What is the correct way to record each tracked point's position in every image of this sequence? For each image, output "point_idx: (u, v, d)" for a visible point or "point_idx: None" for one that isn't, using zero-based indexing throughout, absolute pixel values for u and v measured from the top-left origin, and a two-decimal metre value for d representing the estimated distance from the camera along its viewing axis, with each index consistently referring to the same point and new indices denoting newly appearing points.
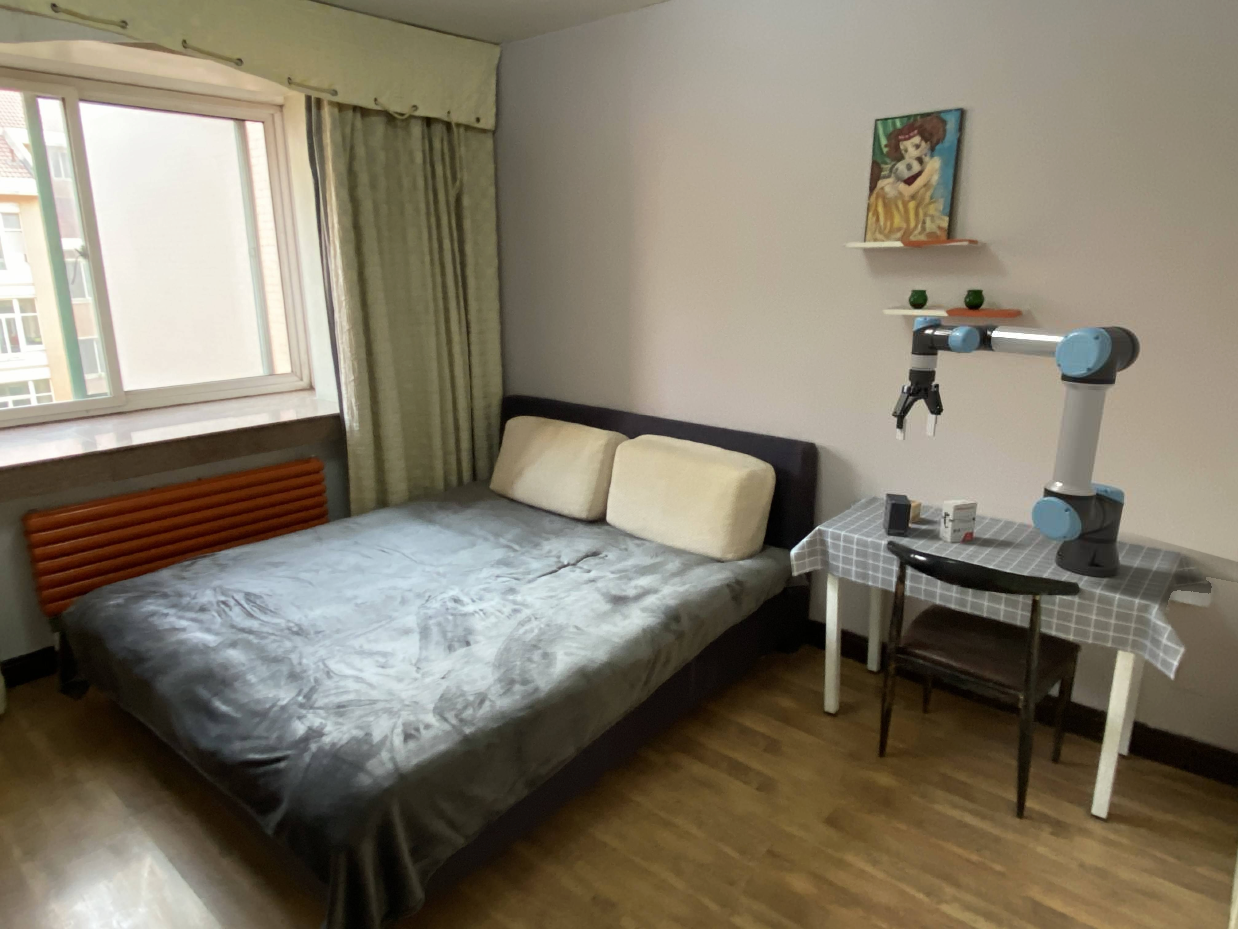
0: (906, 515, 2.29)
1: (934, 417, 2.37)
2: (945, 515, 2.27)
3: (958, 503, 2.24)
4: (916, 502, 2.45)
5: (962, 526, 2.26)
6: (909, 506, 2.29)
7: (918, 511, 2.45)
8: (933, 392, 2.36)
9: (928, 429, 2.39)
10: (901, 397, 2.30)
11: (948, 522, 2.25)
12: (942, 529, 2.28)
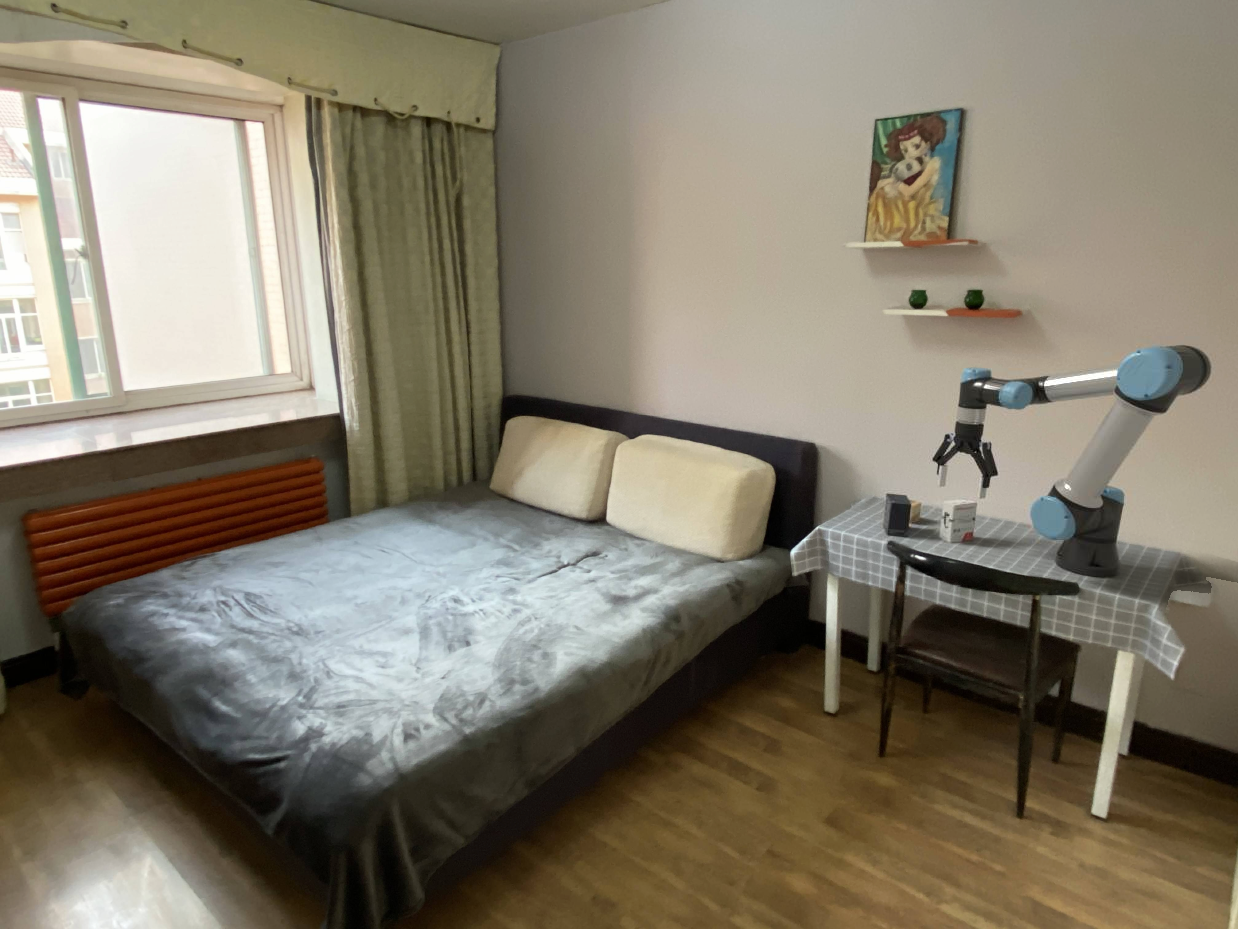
0: (906, 515, 2.29)
1: None
2: (945, 515, 2.27)
3: (958, 503, 2.24)
4: (916, 502, 2.45)
5: (962, 526, 2.26)
6: (909, 506, 2.29)
7: (918, 511, 2.45)
8: None
9: None
10: None
11: (948, 522, 2.25)
12: (942, 529, 2.28)
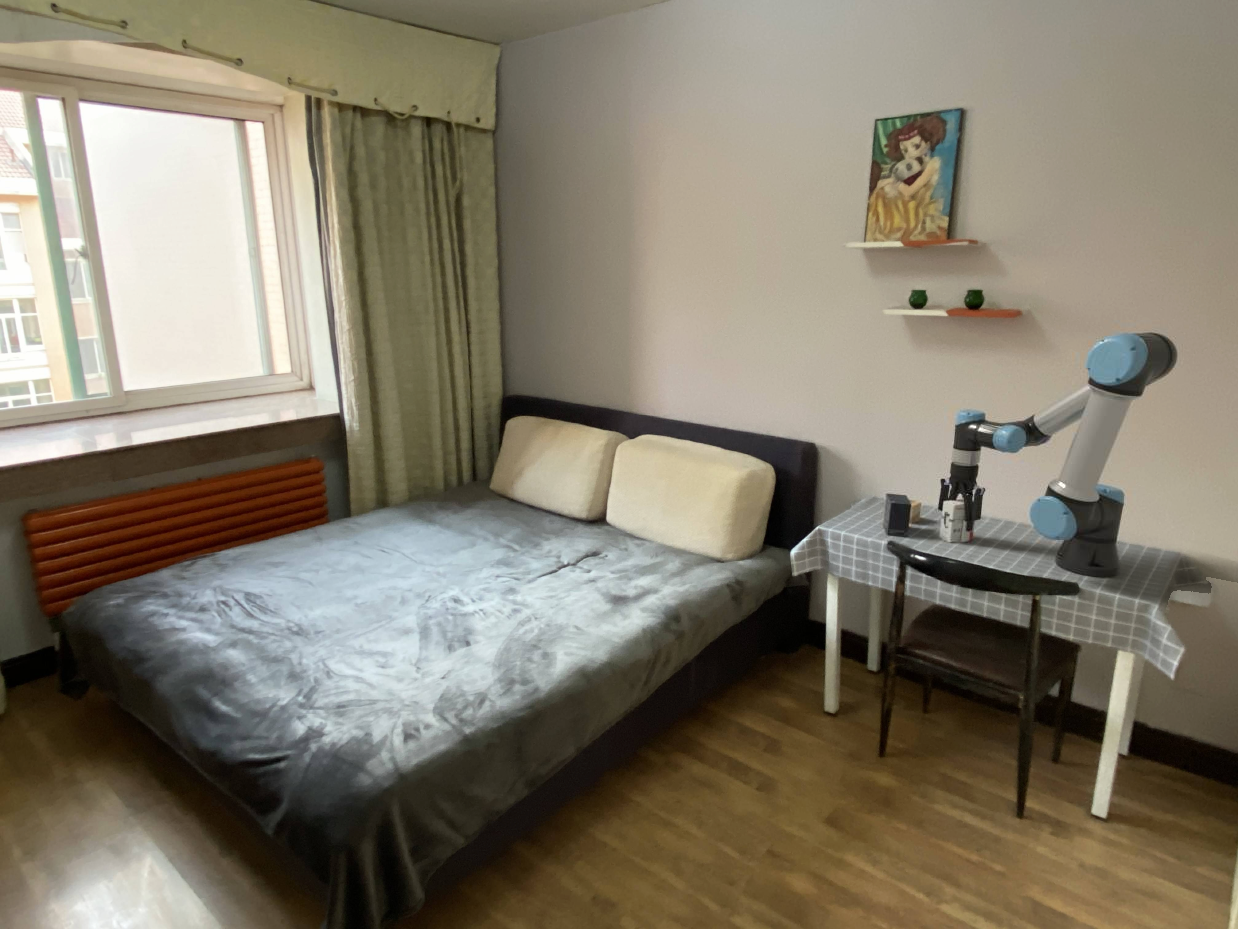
0: (906, 515, 2.29)
1: None
2: (945, 515, 2.27)
3: (958, 503, 2.24)
4: (916, 502, 2.45)
5: (962, 525, 2.26)
6: (909, 506, 2.29)
7: (918, 511, 2.45)
8: None
9: None
10: None
11: (948, 522, 2.25)
12: (942, 529, 2.28)
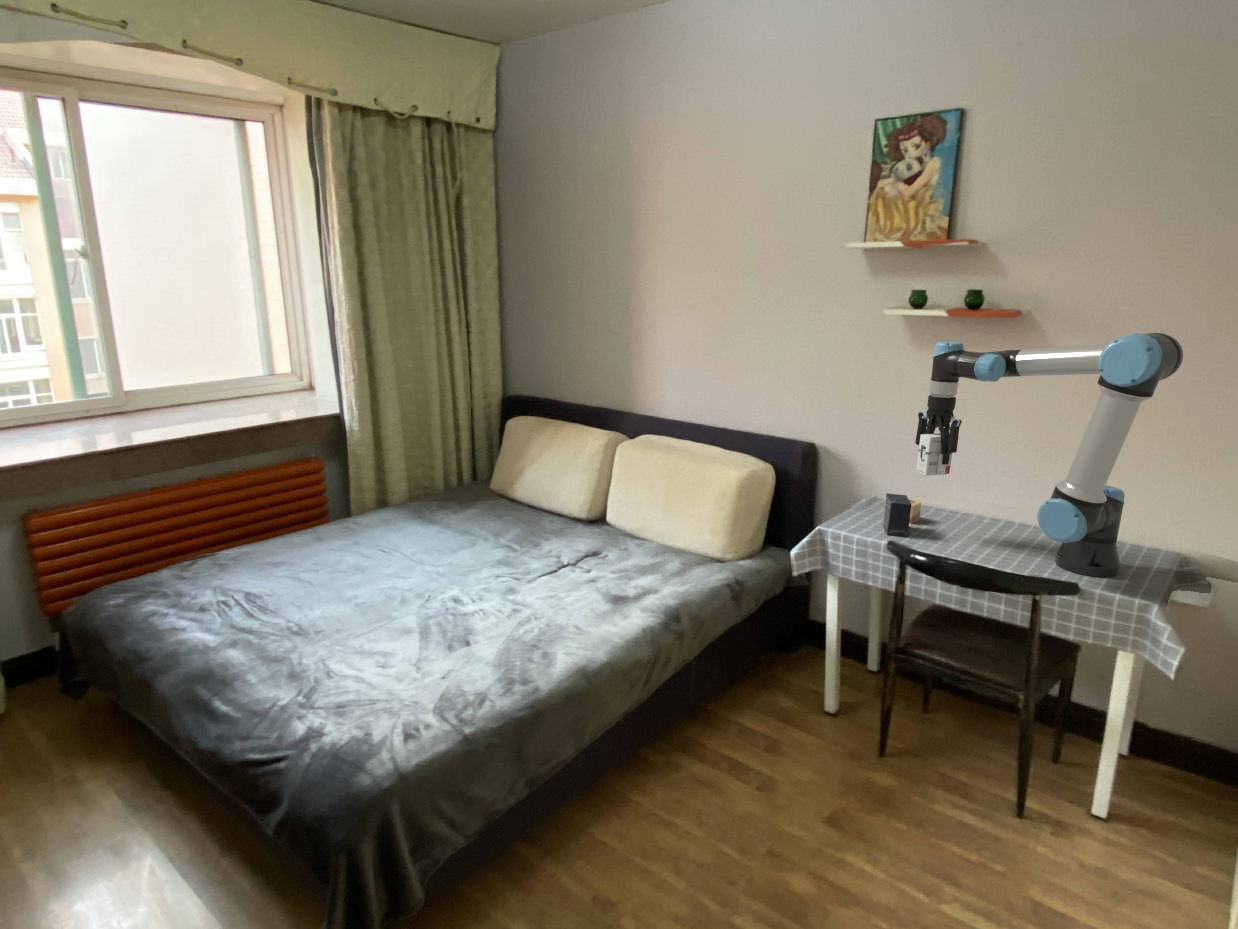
0: (906, 515, 2.29)
1: None
2: (922, 448, 2.26)
3: (935, 436, 2.23)
4: (916, 502, 2.45)
5: (938, 459, 2.25)
6: (909, 506, 2.29)
7: (918, 511, 2.45)
8: None
9: None
10: None
11: (925, 455, 2.25)
12: (919, 463, 2.27)
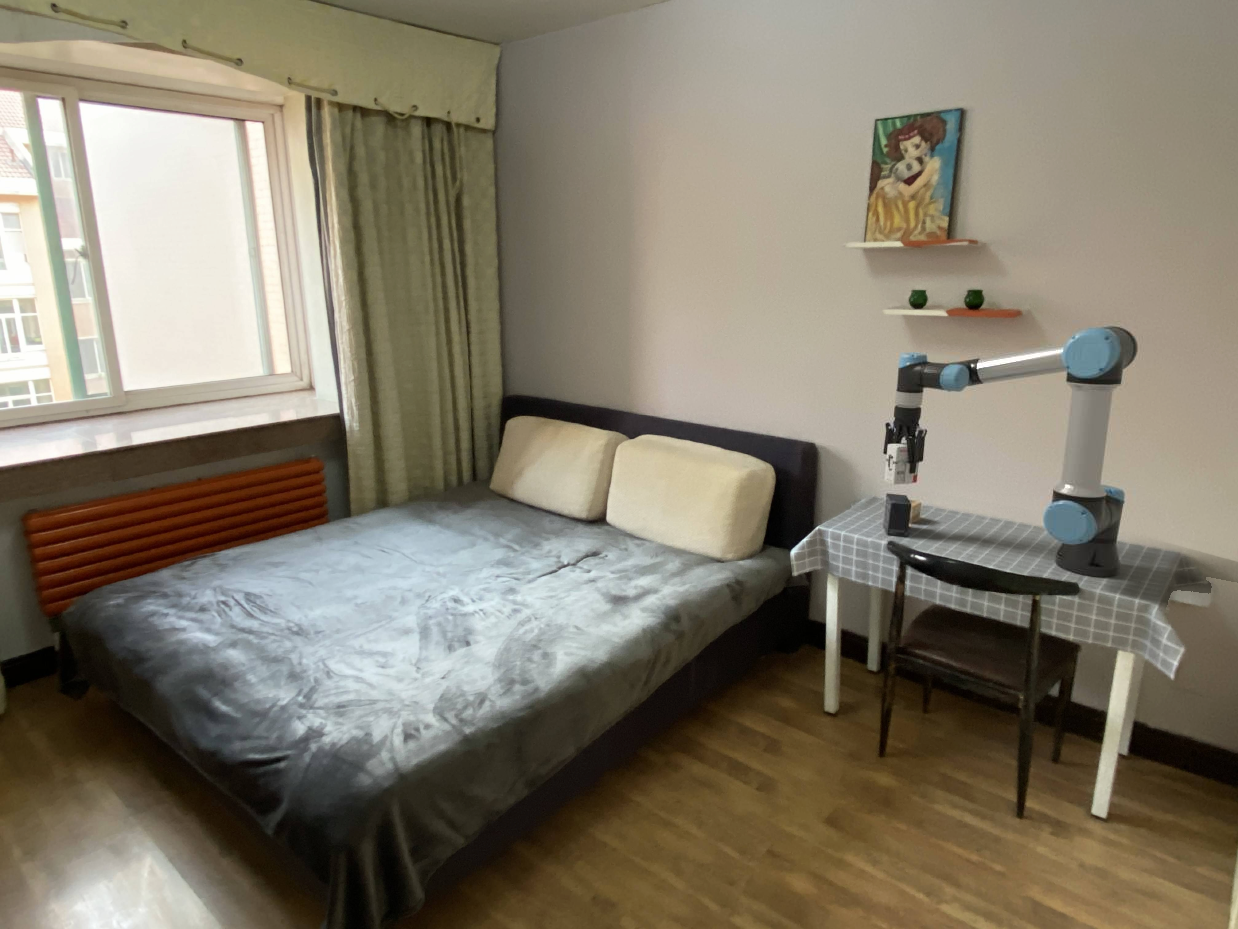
0: (906, 515, 2.29)
1: None
2: (889, 458, 2.30)
3: (901, 445, 2.28)
4: (916, 502, 2.45)
5: (905, 468, 2.29)
6: (909, 506, 2.29)
7: (918, 511, 2.45)
8: None
9: None
10: None
11: (892, 464, 2.29)
12: (886, 472, 2.31)
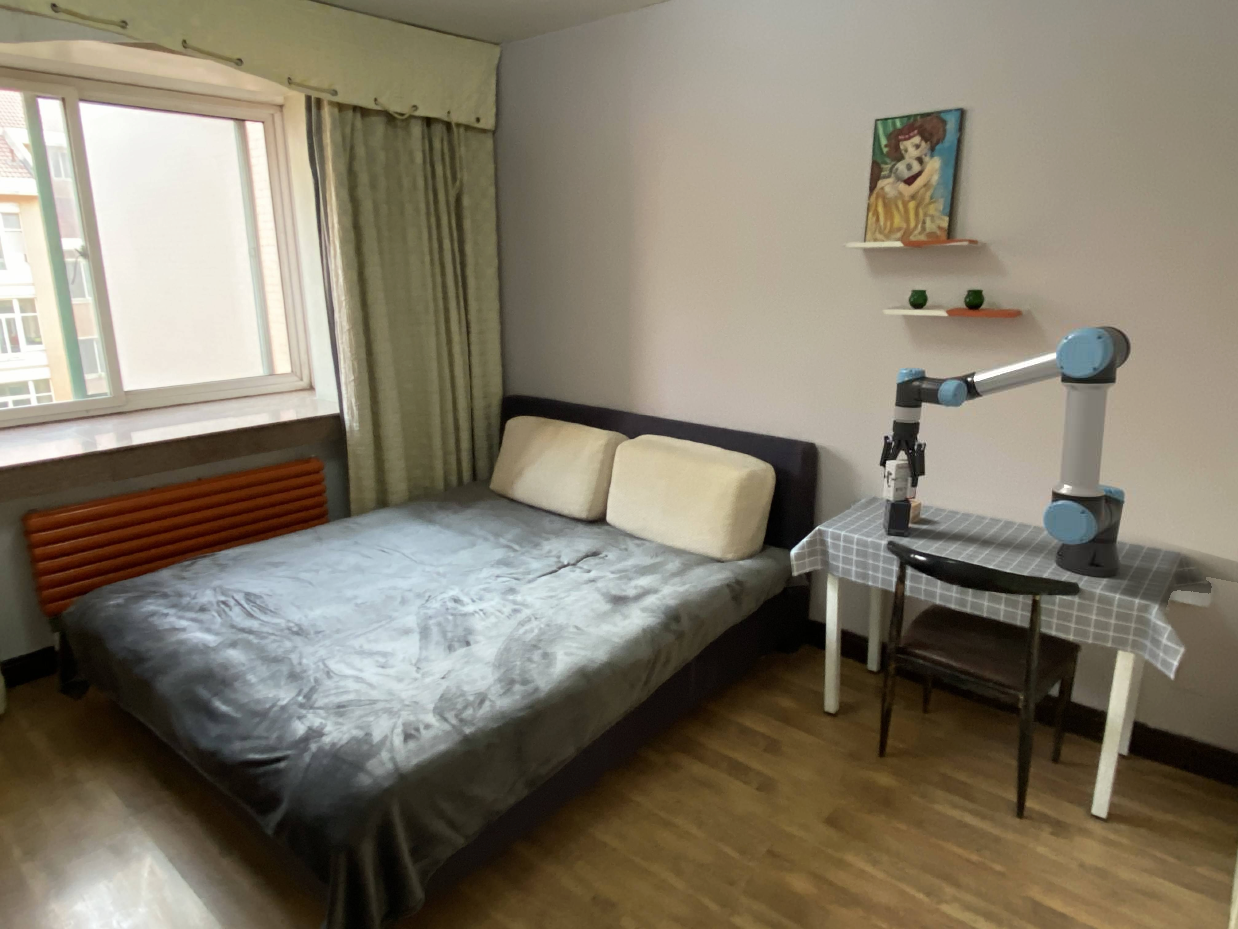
0: (906, 514, 2.29)
1: None
2: (888, 474, 2.31)
3: (900, 462, 2.29)
4: (916, 502, 2.45)
5: (904, 484, 2.30)
6: (909, 506, 2.29)
7: (918, 511, 2.45)
8: None
9: None
10: None
11: (891, 481, 2.30)
12: (885, 488, 2.33)
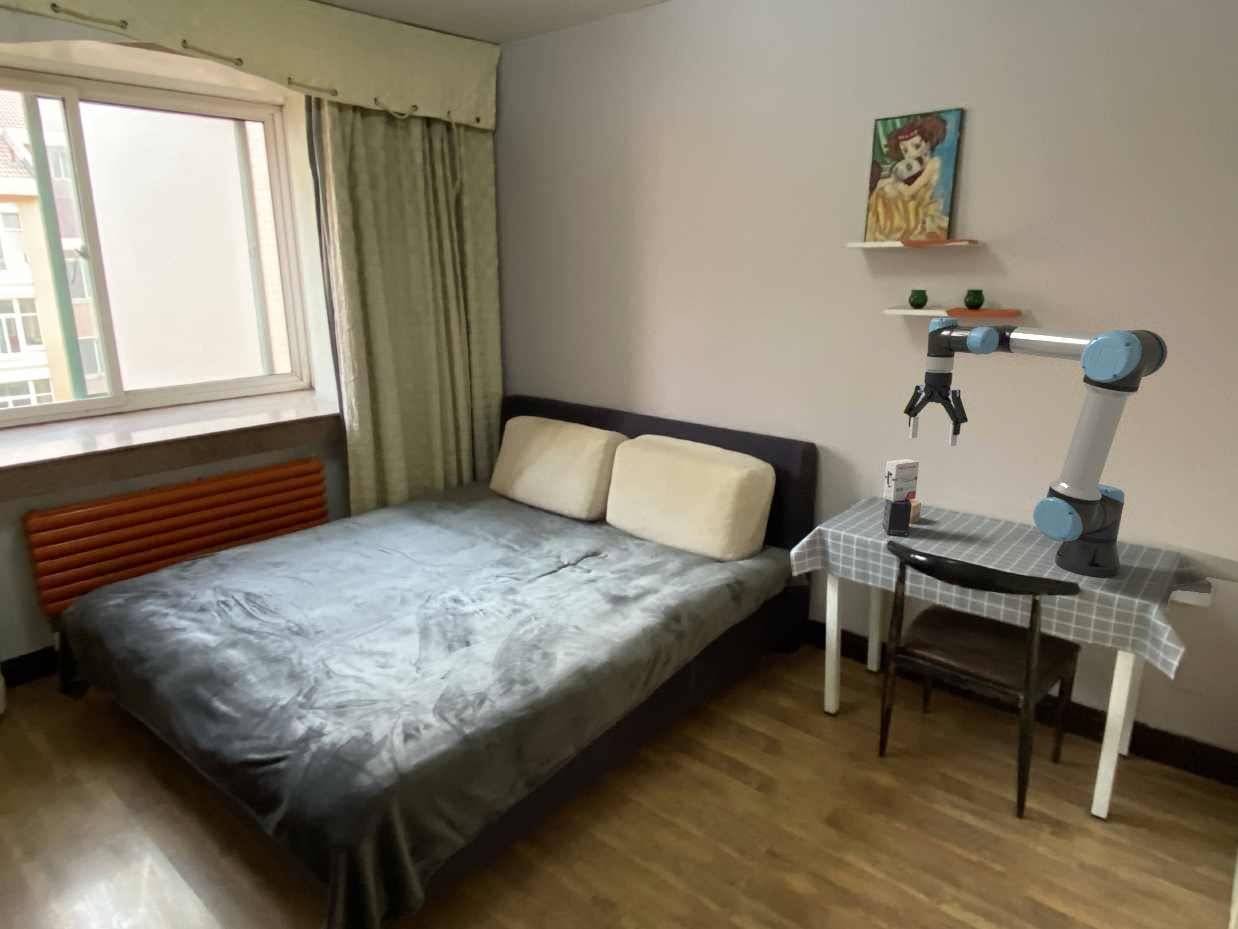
0: (906, 515, 2.29)
1: None
2: (888, 475, 2.31)
3: (900, 462, 2.29)
4: (916, 502, 2.45)
5: (904, 484, 2.30)
6: (909, 506, 2.29)
7: (918, 511, 2.45)
8: None
9: None
10: None
11: (891, 481, 2.30)
12: (886, 489, 2.33)
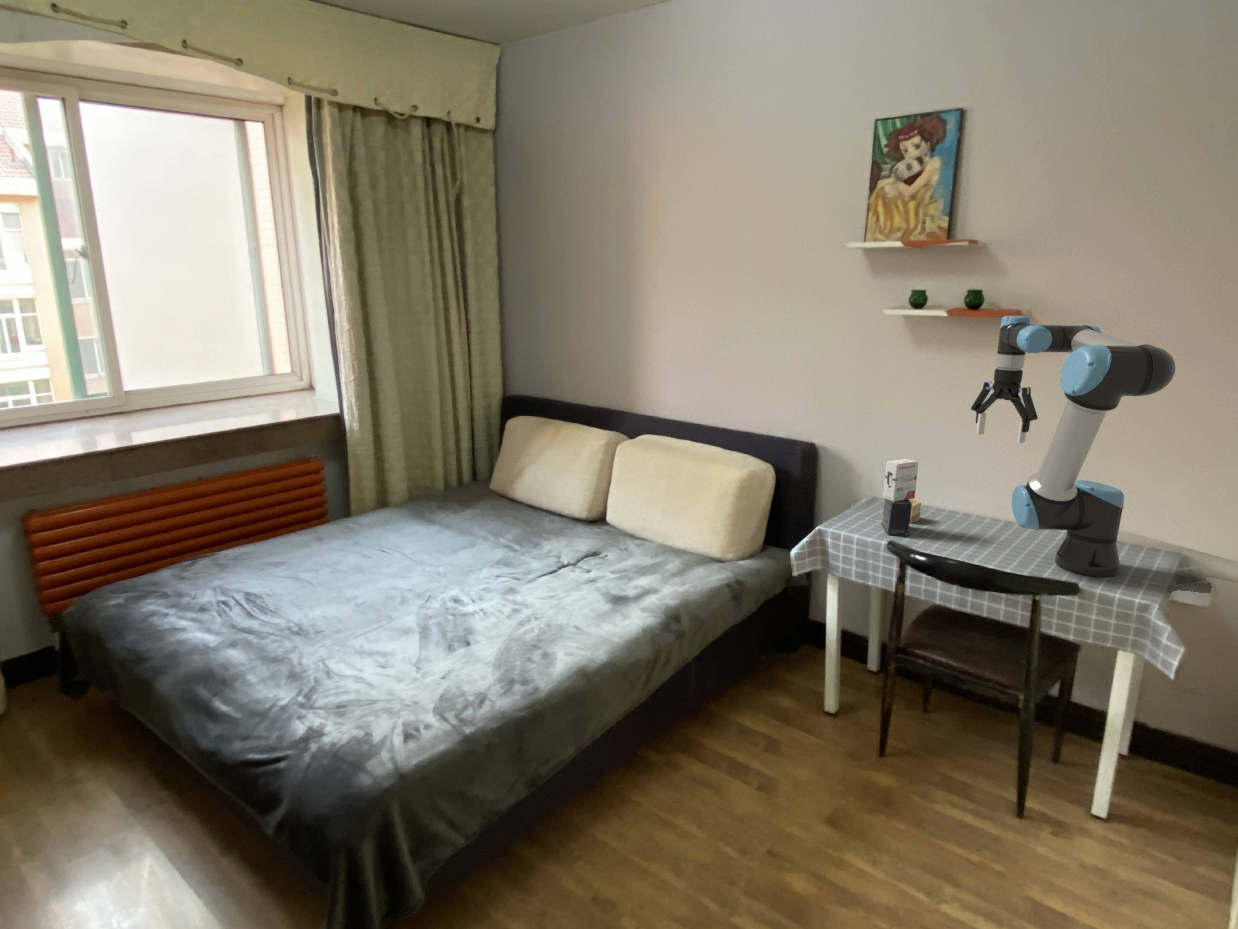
0: (907, 515, 2.29)
1: None
2: (888, 475, 2.31)
3: (900, 462, 2.29)
4: (916, 502, 2.45)
5: (904, 484, 2.30)
6: (910, 506, 2.29)
7: (918, 511, 2.45)
8: None
9: None
10: None
11: (892, 481, 2.30)
12: (885, 489, 2.32)
